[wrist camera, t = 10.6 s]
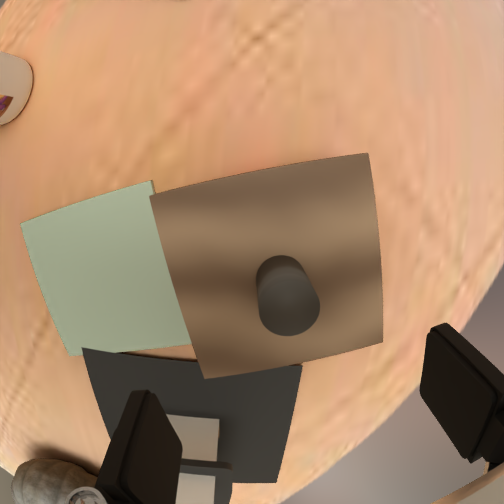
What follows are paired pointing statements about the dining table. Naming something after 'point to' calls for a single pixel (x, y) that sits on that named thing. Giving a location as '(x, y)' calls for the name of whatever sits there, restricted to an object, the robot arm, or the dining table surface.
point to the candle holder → (205, 417)
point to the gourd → (48, 481)
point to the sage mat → (106, 274)
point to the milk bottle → (13, 86)
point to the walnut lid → (275, 264)
